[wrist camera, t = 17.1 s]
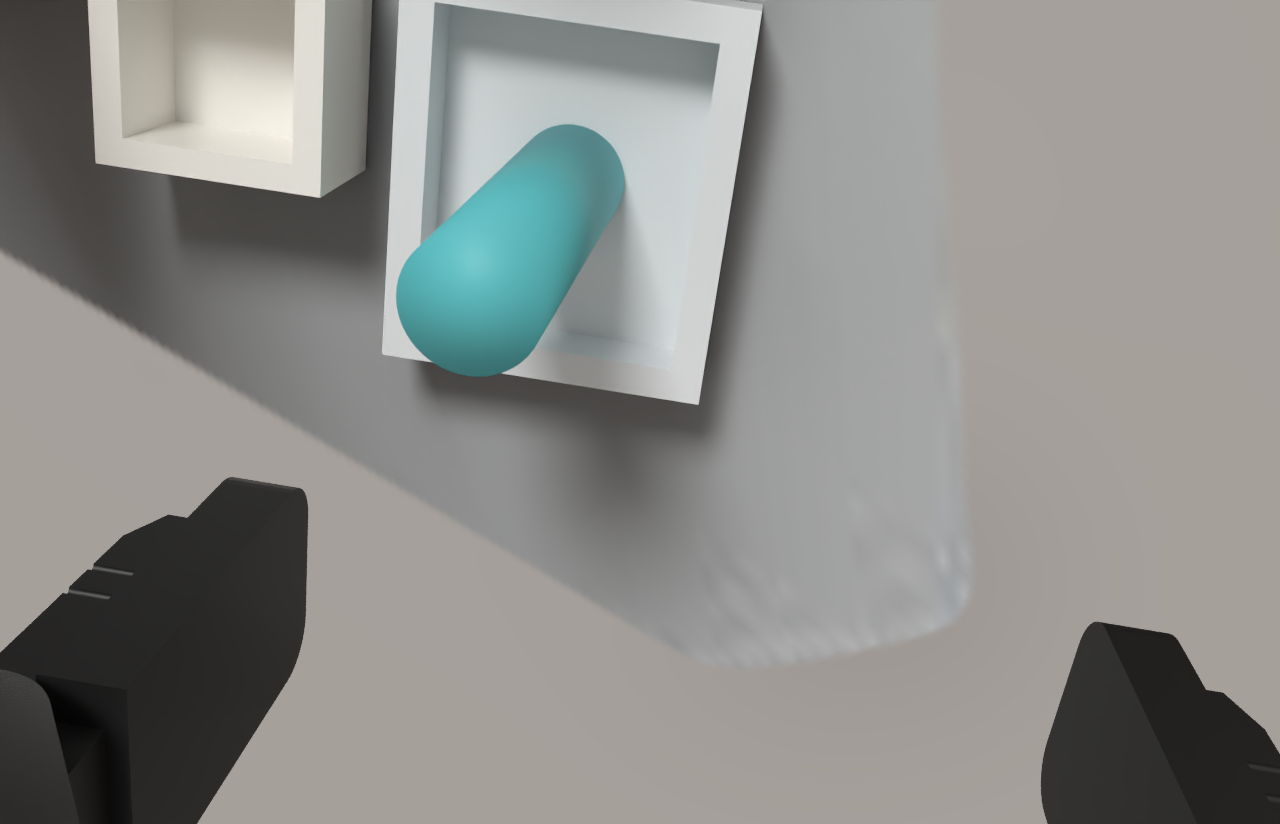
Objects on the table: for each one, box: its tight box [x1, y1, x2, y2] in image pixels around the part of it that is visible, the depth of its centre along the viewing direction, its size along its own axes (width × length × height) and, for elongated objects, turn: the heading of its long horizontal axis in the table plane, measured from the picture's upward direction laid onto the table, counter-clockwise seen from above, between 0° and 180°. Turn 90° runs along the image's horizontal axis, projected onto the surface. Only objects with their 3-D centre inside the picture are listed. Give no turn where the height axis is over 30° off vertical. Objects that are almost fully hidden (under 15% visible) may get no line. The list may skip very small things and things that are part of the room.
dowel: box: [396, 124, 624, 377], centre depth 37 cm, size 4×4×14 cm
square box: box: [88, 0, 372, 198], centre depth 42 cm, size 8×8×5 cm
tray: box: [382, 0, 763, 405], centre depth 43 cm, size 12×14×4 cm
